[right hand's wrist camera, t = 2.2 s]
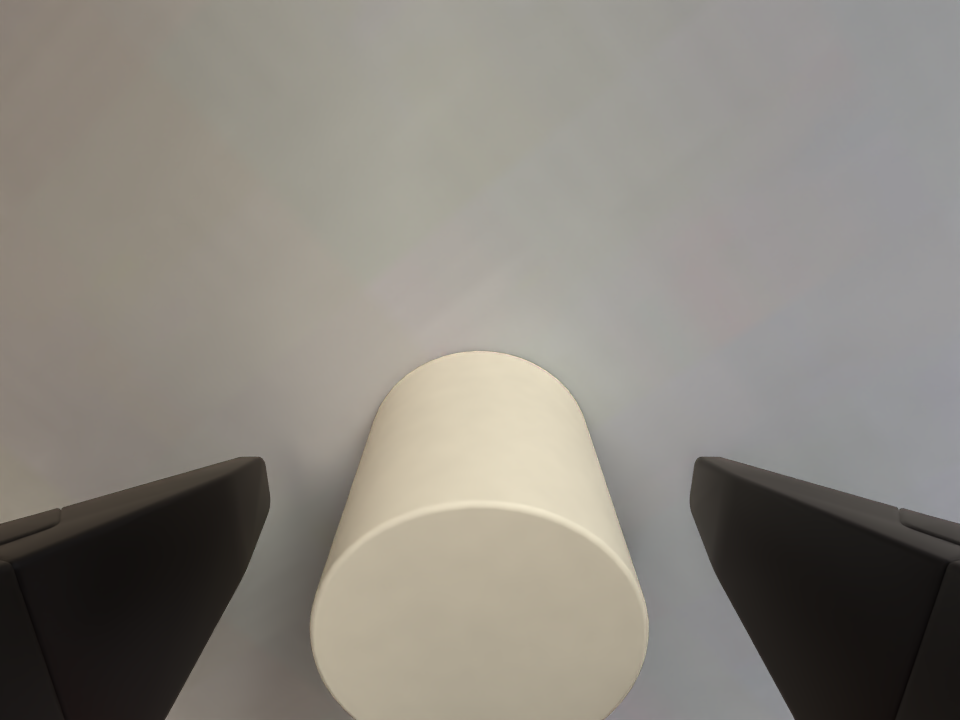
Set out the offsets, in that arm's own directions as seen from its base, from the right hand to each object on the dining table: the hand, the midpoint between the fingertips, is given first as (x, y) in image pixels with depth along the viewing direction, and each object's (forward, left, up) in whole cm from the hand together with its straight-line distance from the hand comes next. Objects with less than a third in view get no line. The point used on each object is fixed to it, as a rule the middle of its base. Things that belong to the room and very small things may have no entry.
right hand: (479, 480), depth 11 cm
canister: (0, 0, -1) cm, 1 cm away
